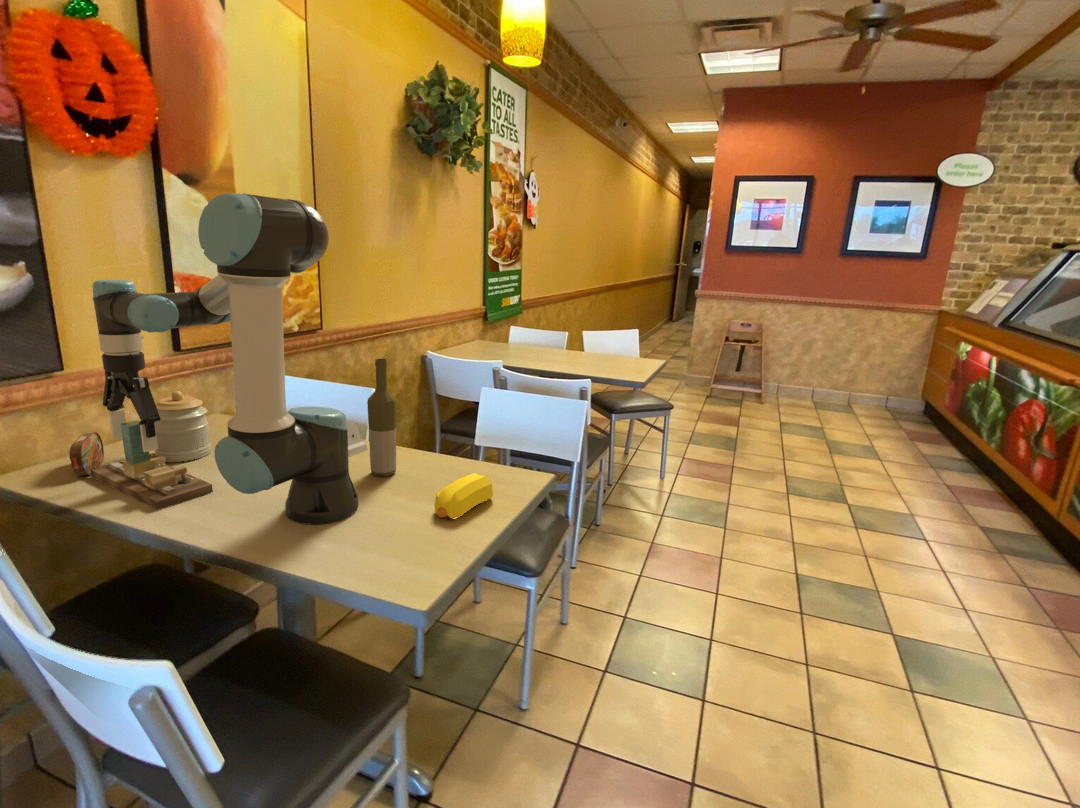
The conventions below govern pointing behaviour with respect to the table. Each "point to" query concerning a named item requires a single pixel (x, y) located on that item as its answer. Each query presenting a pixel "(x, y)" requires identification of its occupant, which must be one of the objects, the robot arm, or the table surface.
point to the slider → (136, 452)
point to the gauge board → (149, 492)
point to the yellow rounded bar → (462, 495)
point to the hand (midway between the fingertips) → (135, 443)
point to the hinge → (354, 440)
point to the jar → (182, 428)
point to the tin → (86, 453)
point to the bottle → (382, 425)
